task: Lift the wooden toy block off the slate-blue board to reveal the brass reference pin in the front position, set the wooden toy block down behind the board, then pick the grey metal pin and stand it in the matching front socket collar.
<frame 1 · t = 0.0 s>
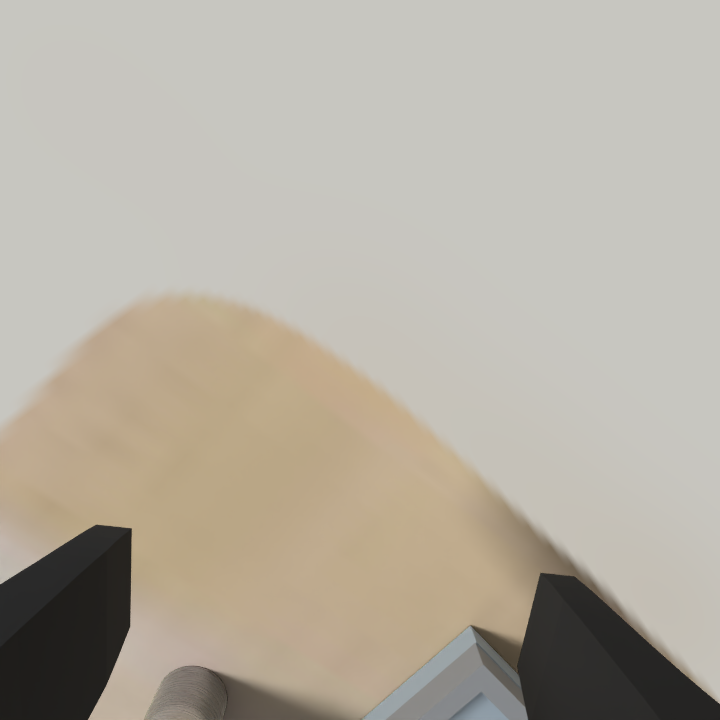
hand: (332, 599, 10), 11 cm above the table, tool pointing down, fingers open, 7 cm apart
pin: (192, 698, 22), on the table
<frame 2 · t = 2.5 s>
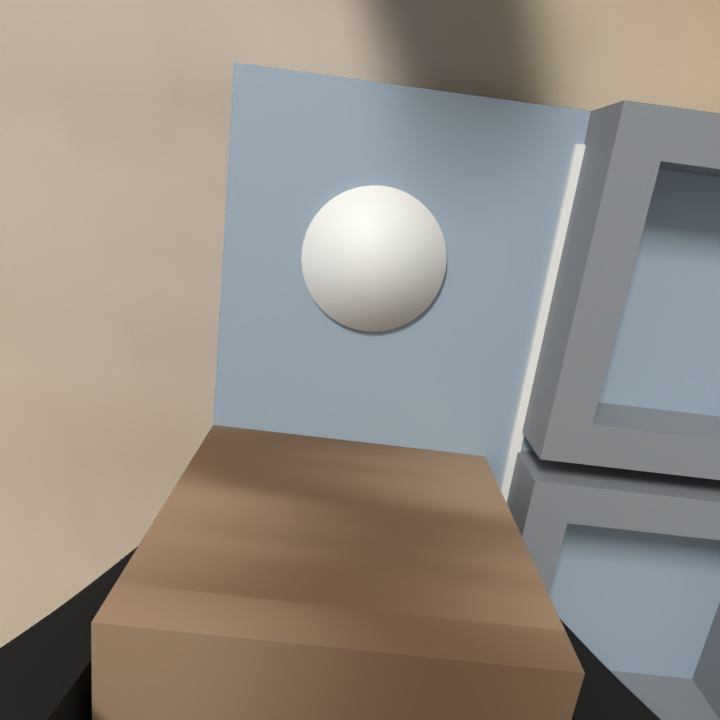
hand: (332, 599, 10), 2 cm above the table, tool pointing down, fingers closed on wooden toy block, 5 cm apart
wooden toy block: (334, 557, 11), point 1 cm above the table, touching board, gripper
board: (499, 436, 12), on the table
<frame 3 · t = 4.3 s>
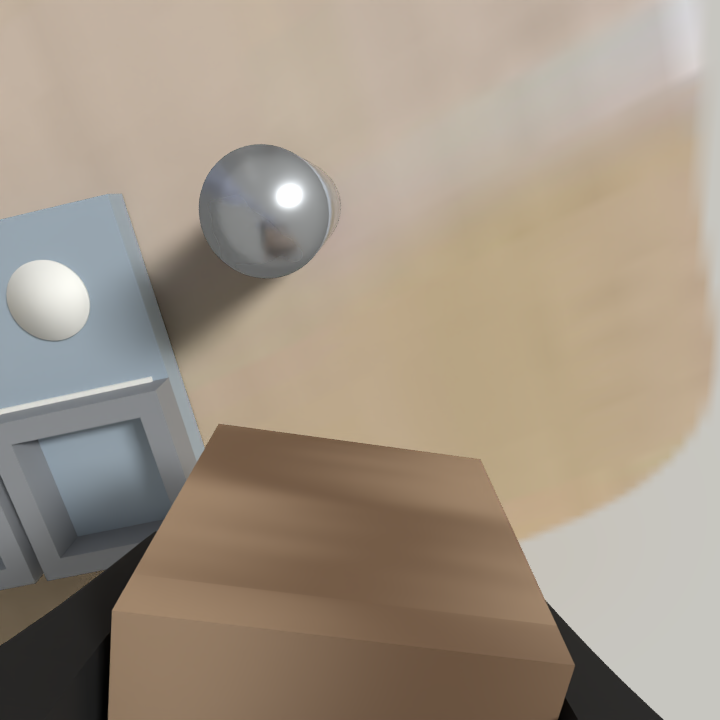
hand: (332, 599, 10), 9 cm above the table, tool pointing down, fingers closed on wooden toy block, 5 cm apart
wooden toy block: (333, 554, 12), point 8 cm above the table, touching gripper
board: (3, 403, 19), on the table
pin: (297, 206, 17), on the table
when the fingers open (3 cm above the table, at t = 5.9 s): wooden toy block drops 1 cm, on the table.
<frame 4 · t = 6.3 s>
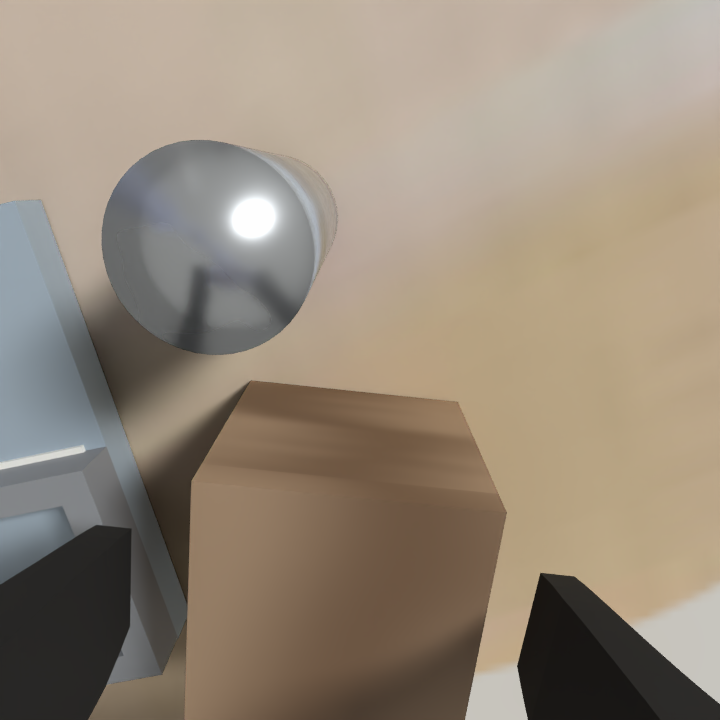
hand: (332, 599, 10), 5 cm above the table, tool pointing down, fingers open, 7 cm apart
wooden toy block: (344, 484, 15), on the table
pin: (278, 218, 13), on the table
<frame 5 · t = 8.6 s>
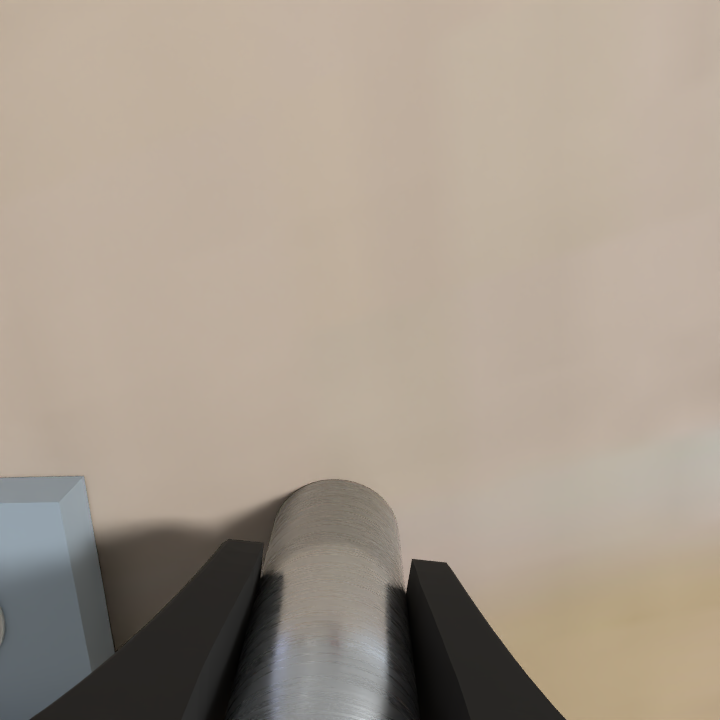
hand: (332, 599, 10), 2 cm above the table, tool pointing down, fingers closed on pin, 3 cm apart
pin: (335, 536, 12), on the table, touching gripper
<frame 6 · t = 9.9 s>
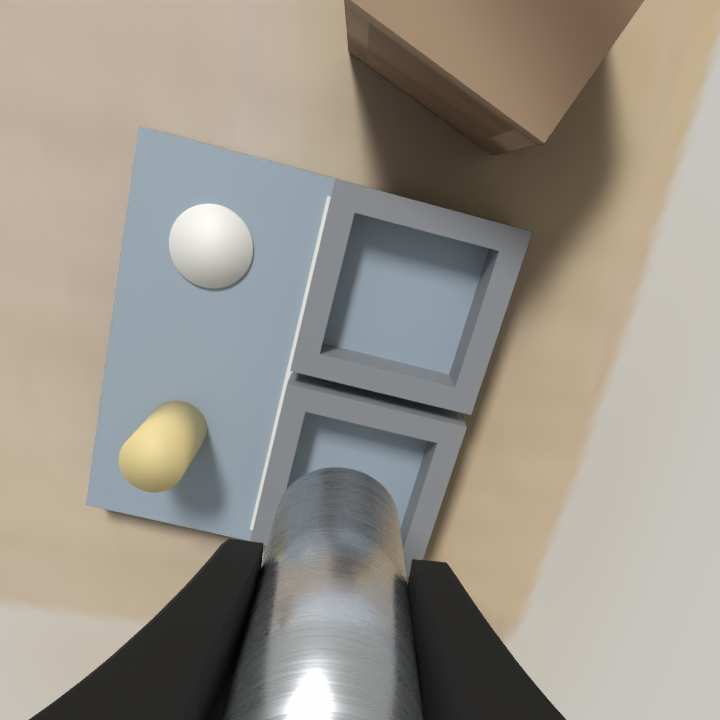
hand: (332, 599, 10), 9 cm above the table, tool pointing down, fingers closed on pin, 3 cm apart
wooden toy block: (474, 22, 16), on the table
board: (292, 367, 19), on the table
pin: (336, 524, 12), point 7 cm above the table, touching gripper
when the fingers open (4 cm above the table, at t = 11.4 s): pin stays where it is, resting on board.
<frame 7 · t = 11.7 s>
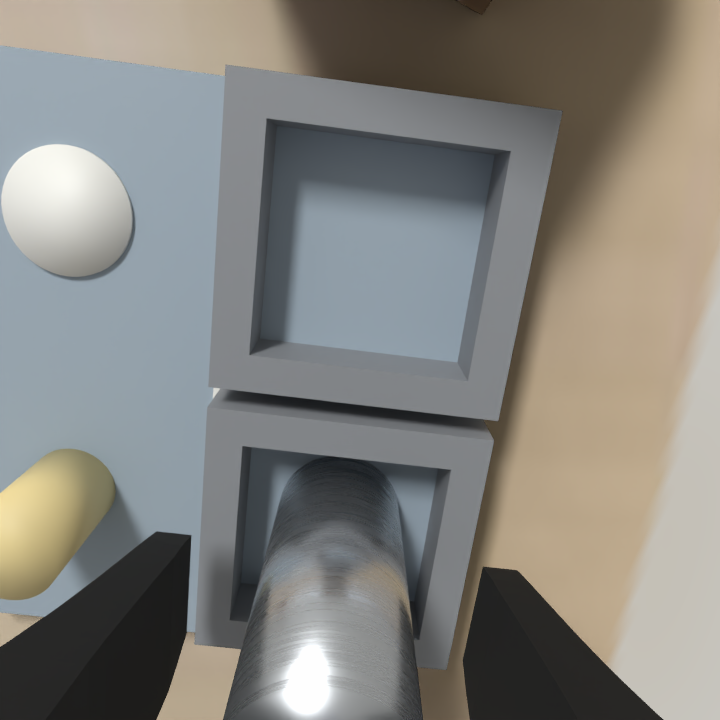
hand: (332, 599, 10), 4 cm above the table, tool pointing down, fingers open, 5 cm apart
board: (229, 379, 13), on the table
pin: (338, 509, 13), point 1 cm above the table, touching board
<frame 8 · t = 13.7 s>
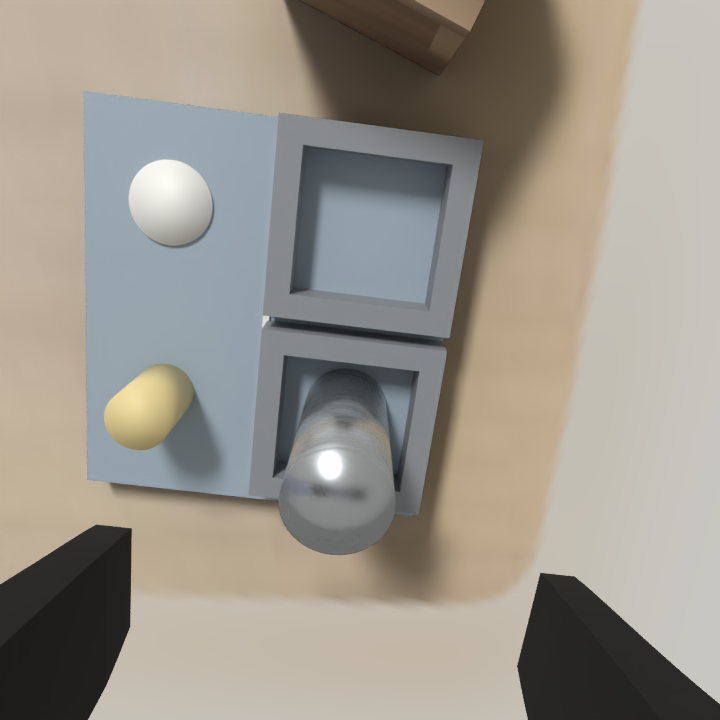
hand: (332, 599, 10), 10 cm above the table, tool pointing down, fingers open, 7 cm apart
board: (270, 318, 19), on the table
pin: (345, 406, 19), point 1 cm above the table, touching board
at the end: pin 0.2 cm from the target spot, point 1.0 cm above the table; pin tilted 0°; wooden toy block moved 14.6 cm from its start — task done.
